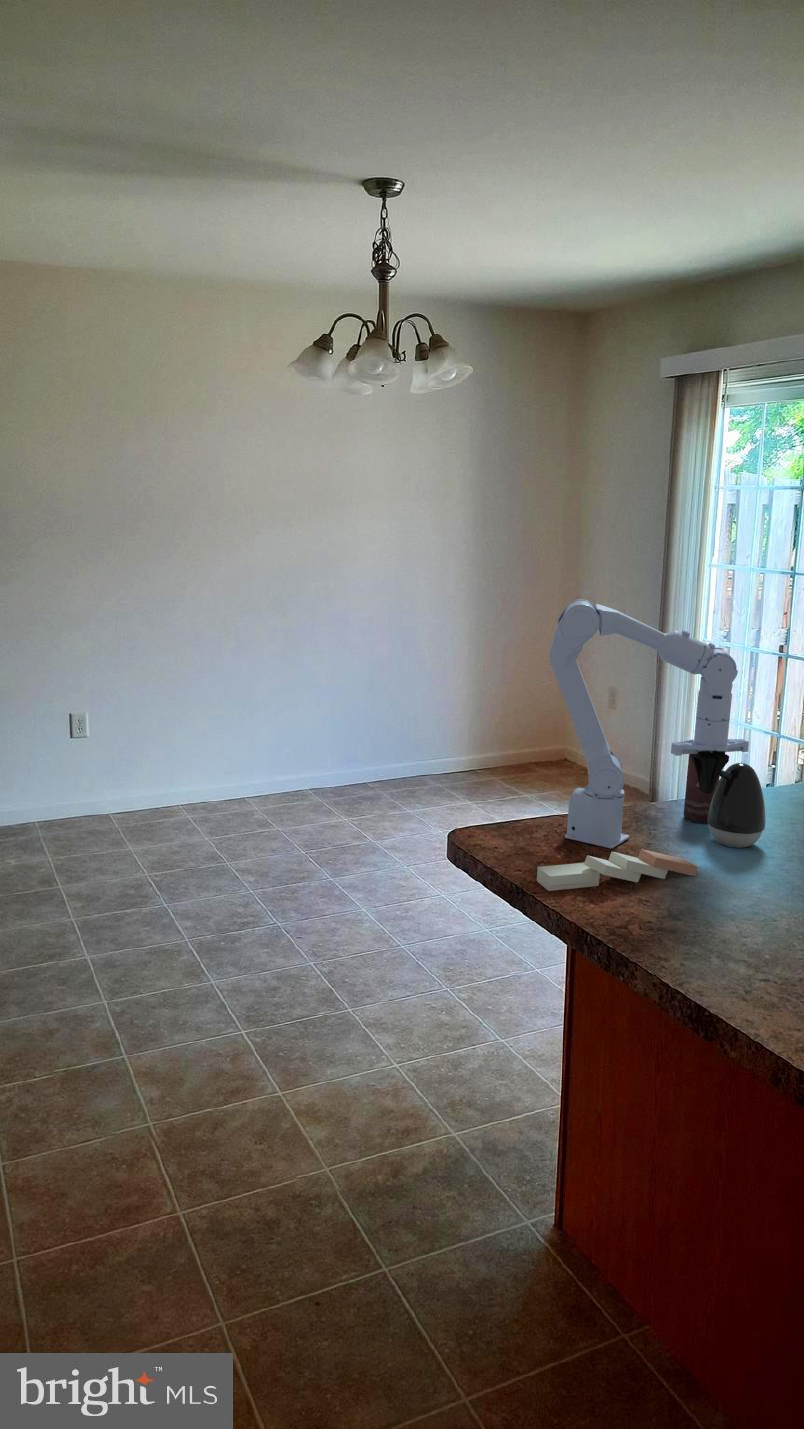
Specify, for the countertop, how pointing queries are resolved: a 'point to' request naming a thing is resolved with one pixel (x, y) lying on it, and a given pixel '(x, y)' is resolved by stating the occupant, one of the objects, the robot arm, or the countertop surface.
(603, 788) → the robot arm
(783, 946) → the countertop surface
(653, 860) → the end domino
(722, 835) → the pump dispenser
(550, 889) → the domino
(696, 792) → the can
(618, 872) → the domino
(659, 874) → the domino
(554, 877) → the domino
